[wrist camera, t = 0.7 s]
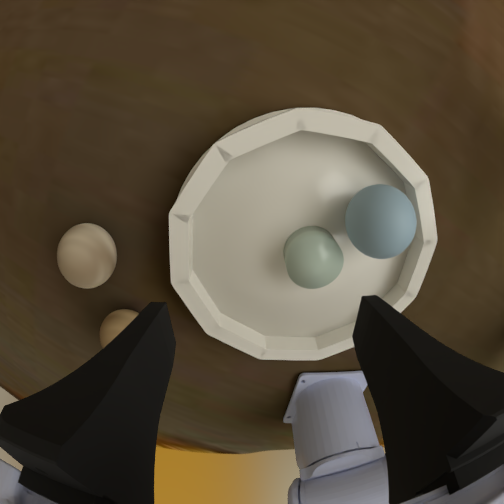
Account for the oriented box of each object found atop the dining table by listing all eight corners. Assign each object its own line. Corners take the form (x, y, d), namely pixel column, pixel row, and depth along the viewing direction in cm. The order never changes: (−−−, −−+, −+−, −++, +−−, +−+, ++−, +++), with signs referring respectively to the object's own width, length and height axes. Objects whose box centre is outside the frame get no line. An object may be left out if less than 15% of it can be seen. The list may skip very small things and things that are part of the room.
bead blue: (387, 242, 19) (416, 274, 15) (330, 236, 19) (350, 270, 15) (402, 182, 17) (439, 204, 13) (343, 171, 17) (371, 190, 13)
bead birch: (128, 270, 20) (107, 305, 16) (80, 265, 20) (54, 296, 16) (123, 215, 18) (95, 242, 15) (72, 212, 18) (39, 237, 14)
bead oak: (160, 341, 24) (149, 379, 20) (115, 334, 23) (99, 369, 19) (155, 301, 22) (140, 339, 18) (106, 295, 21) (85, 329, 18)
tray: (380, 342, 24) (389, 361, 22) (177, 335, 23) (172, 357, 21) (445, 142, 16) (466, 149, 14) (177, 95, 15) (166, 92, 13)
